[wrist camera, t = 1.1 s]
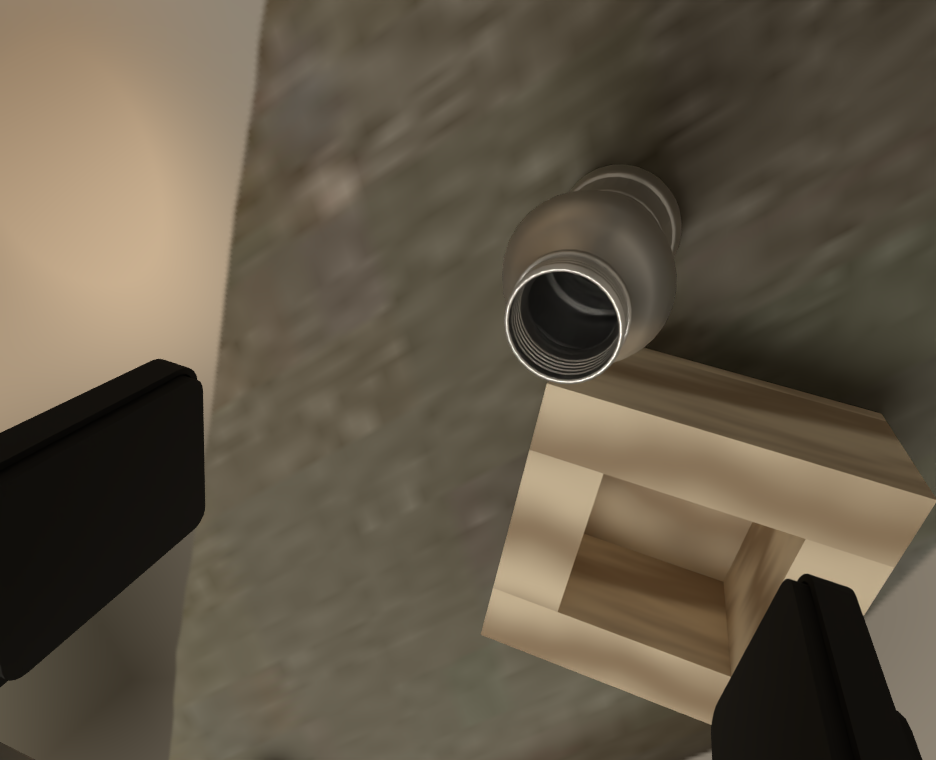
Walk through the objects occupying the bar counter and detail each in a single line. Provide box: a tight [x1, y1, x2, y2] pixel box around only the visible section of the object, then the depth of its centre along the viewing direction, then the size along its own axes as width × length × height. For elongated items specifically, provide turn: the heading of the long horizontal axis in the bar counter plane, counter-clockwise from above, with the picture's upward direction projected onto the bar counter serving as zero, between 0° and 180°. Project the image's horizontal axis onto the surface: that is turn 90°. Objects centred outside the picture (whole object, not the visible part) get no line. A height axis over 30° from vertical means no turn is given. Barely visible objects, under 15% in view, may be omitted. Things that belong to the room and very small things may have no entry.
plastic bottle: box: [502, 164, 682, 384], centre depth 27 cm, size 6×7×20 cm
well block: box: [481, 348, 936, 725], centre depth 37 cm, size 18×18×9 cm
